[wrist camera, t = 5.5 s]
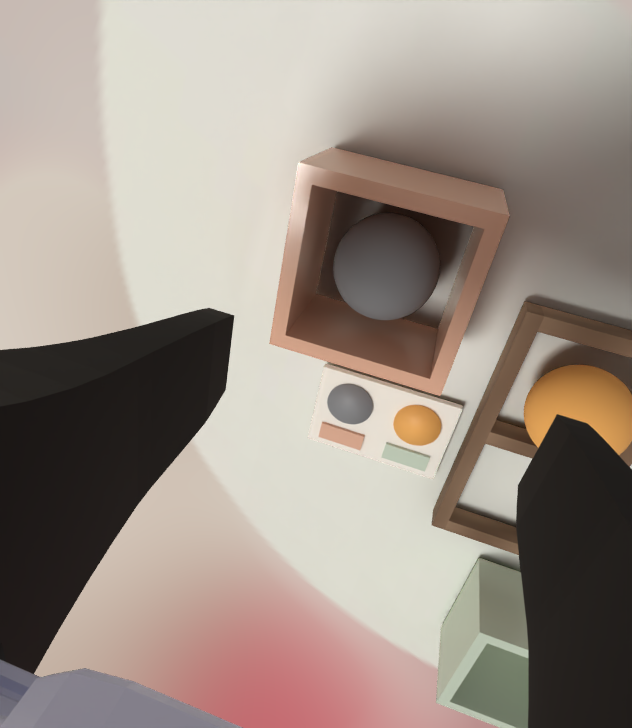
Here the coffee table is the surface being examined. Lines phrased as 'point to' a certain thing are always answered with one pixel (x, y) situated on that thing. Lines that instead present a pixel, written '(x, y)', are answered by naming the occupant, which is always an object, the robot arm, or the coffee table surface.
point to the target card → (382, 421)
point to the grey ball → (386, 266)
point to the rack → (512, 436)
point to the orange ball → (581, 404)
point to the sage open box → (486, 649)
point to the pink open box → (336, 318)
